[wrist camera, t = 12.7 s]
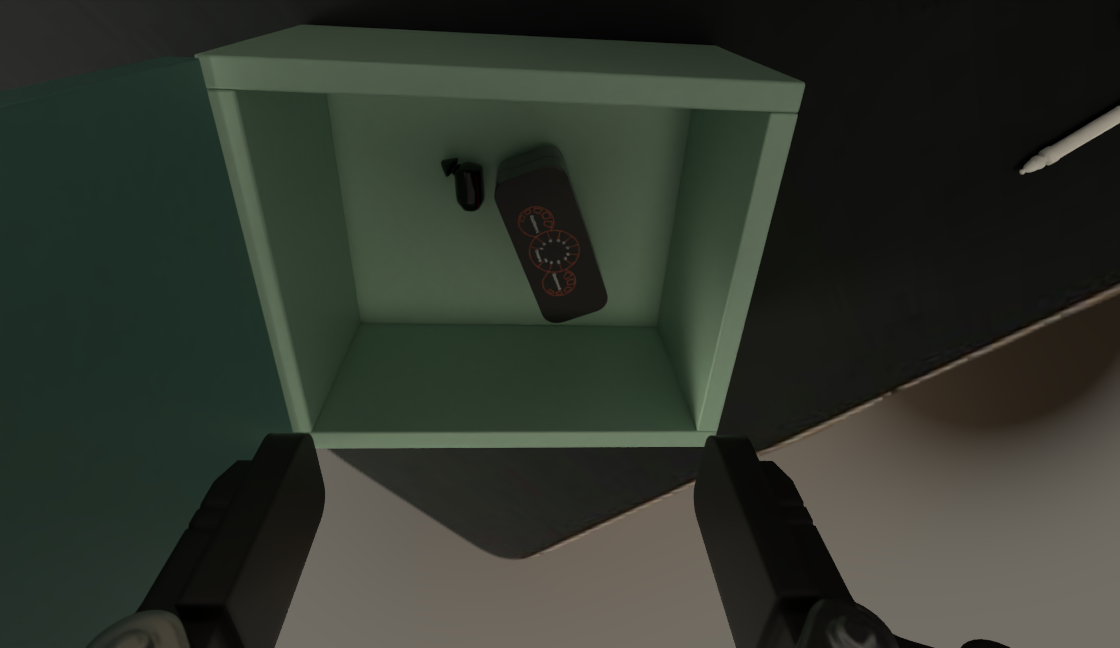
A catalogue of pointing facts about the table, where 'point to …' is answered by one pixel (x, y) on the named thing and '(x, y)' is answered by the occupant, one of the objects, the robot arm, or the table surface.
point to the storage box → (498, 230)
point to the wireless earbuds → (541, 228)
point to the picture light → (1073, 141)
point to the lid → (117, 341)
